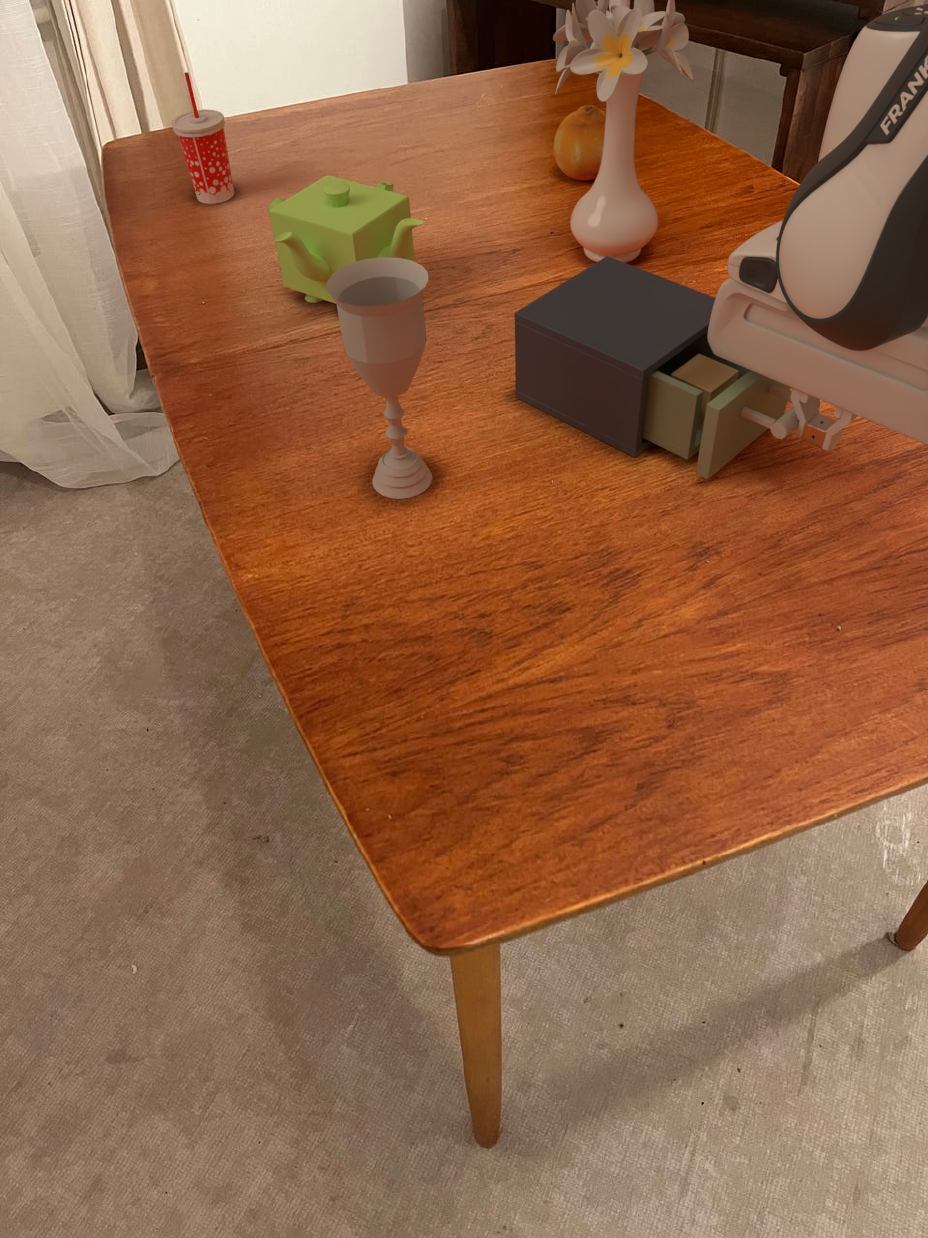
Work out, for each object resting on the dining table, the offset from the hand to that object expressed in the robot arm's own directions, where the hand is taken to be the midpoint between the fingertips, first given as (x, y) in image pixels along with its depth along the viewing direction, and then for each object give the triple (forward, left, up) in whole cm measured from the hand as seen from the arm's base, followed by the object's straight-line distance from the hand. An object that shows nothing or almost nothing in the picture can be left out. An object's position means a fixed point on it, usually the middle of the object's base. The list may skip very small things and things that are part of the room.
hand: (816, 441), depth 76 cm
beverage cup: (+68, -48, -5) cm, 83 cm away
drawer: (+8, -6, -3) cm, 10 cm away
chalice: (+33, +3, -5) cm, 33 cm away
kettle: (+45, -26, -5) cm, 52 cm away
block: (+9, -6, -2) cm, 11 cm away
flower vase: (+19, -38, -5) cm, 43 cm away
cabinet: (+16, -11, -4) cm, 20 cm away
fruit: (+23, -57, -5) cm, 61 cm away
